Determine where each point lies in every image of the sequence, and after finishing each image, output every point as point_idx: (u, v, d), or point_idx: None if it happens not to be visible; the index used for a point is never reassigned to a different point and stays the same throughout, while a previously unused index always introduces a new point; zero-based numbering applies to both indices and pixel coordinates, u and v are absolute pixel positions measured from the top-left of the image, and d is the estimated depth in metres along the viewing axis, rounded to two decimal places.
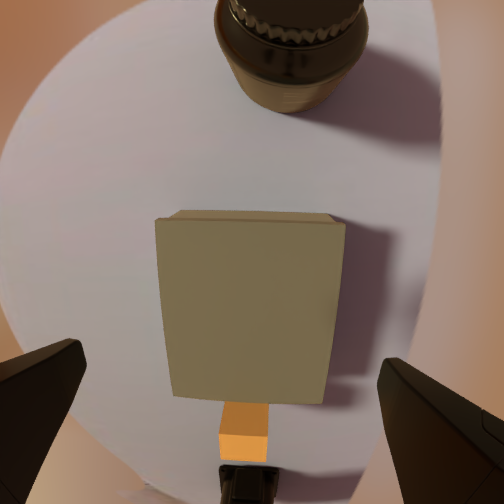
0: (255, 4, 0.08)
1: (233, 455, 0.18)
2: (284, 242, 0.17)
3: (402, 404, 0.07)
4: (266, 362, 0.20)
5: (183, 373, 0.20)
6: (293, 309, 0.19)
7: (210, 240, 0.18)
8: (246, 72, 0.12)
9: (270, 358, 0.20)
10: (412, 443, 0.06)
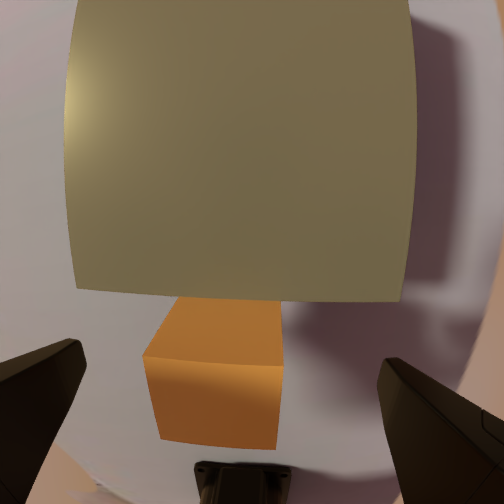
0: None
1: (190, 429, 0.07)
2: None
3: (402, 404, 0.07)
4: (274, 173, 0.08)
5: (93, 222, 0.09)
6: (328, 42, 0.07)
7: None
8: None
9: (283, 161, 0.08)
10: (412, 443, 0.06)
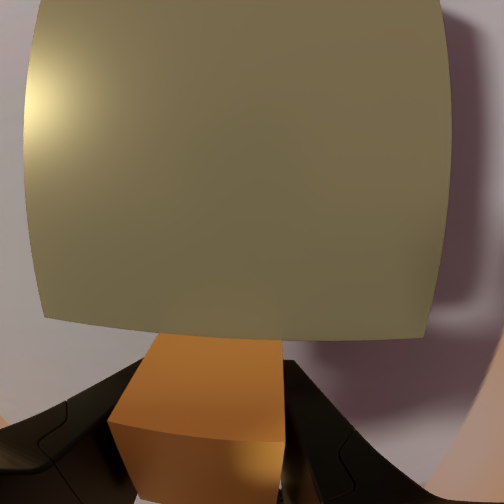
0: None
1: (173, 495, 0.05)
2: None
3: None
4: (275, 183, 0.07)
5: (56, 242, 0.07)
6: (342, 18, 0.05)
7: None
8: None
9: (287, 168, 0.06)
10: (285, 453, 0.06)
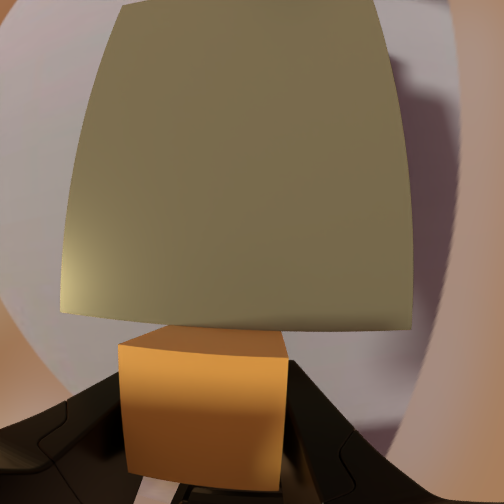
0: None
1: (166, 457, 0.05)
2: (294, 5, 0.09)
3: None
4: (274, 195, 0.09)
5: (88, 240, 0.09)
6: (320, 82, 0.09)
7: (189, 8, 0.10)
8: None
9: (283, 184, 0.09)
10: (285, 453, 0.06)
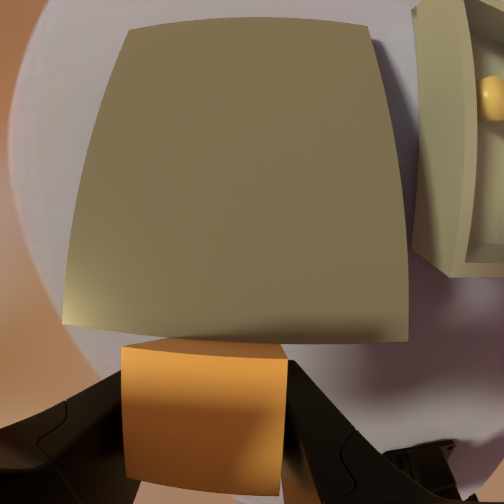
0: None
1: (166, 462, 0.05)
2: (292, 32, 0.11)
3: None
4: (273, 212, 0.09)
5: (93, 254, 0.09)
6: (317, 106, 0.10)
7: (193, 34, 0.11)
8: None
9: (281, 202, 0.09)
10: (285, 453, 0.06)
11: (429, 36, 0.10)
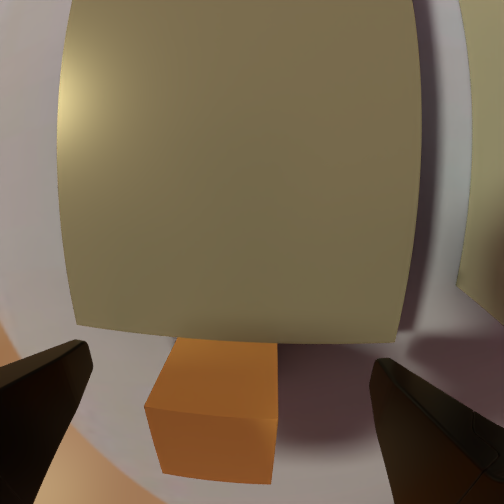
0: None
1: (190, 466, 0.07)
2: None
3: (393, 405, 0.07)
4: (272, 221, 0.08)
5: (90, 263, 0.09)
6: (331, 79, 0.07)
7: None
8: None
9: (282, 209, 0.08)
10: (402, 445, 0.06)
11: (484, 7, 0.06)
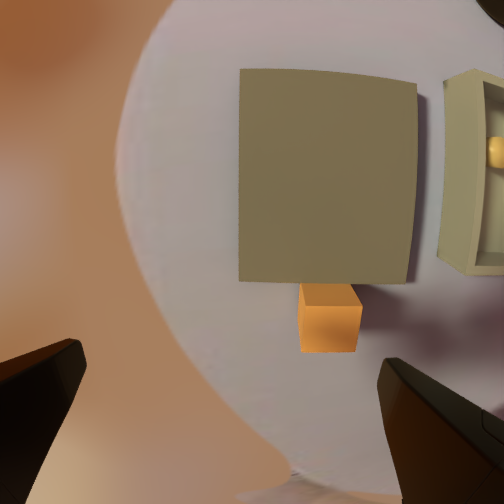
0: None
1: (318, 343, 0.17)
2: (366, 92, 0.16)
3: (402, 404, 0.07)
4: (350, 224, 0.18)
5: (256, 245, 0.19)
6: (377, 160, 0.17)
7: (296, 86, 0.16)
8: None
9: (355, 219, 0.18)
10: (412, 443, 0.06)
11: (456, 108, 0.15)
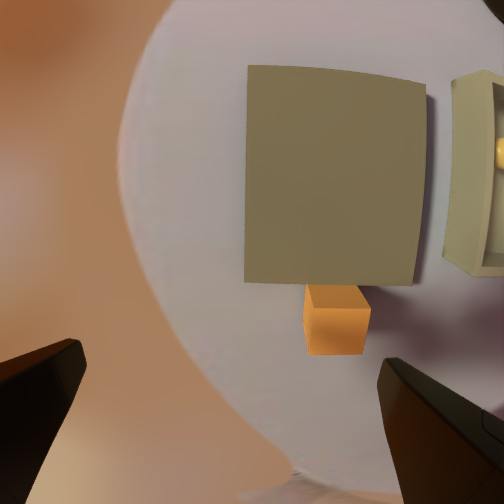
0: None
1: (326, 345, 0.16)
2: (375, 92, 0.16)
3: (402, 404, 0.07)
4: (358, 225, 0.18)
5: (262, 245, 0.18)
6: (386, 160, 0.17)
7: (305, 84, 0.16)
8: None
9: (363, 220, 0.18)
10: (412, 443, 0.06)
11: (464, 108, 0.15)
